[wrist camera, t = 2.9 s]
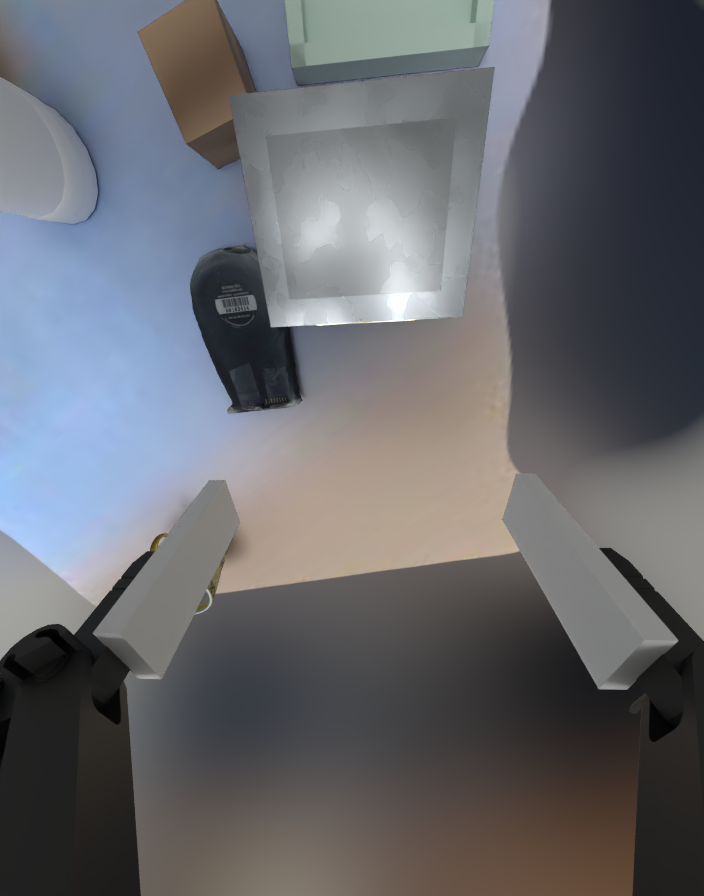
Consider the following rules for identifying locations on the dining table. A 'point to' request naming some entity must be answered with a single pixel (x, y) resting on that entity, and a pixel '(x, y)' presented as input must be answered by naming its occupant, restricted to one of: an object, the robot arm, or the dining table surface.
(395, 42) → the tray
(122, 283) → the dining table surface
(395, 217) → the unit
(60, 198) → the bottle
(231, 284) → the electronic device
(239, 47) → the walnut block
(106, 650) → the robot arm
